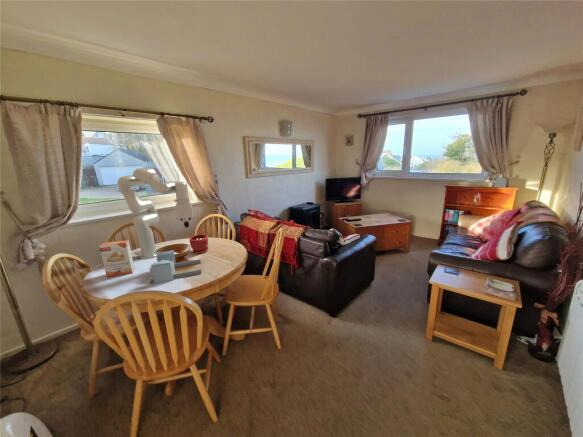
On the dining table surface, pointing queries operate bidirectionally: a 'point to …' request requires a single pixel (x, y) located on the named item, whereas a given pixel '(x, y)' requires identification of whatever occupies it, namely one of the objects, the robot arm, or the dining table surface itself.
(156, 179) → the robot arm
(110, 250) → the cracker box
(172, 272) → the lumpy-topped squat cylinder
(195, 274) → the grey long bars
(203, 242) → the plant pot
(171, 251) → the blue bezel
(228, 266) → the dining table surface
